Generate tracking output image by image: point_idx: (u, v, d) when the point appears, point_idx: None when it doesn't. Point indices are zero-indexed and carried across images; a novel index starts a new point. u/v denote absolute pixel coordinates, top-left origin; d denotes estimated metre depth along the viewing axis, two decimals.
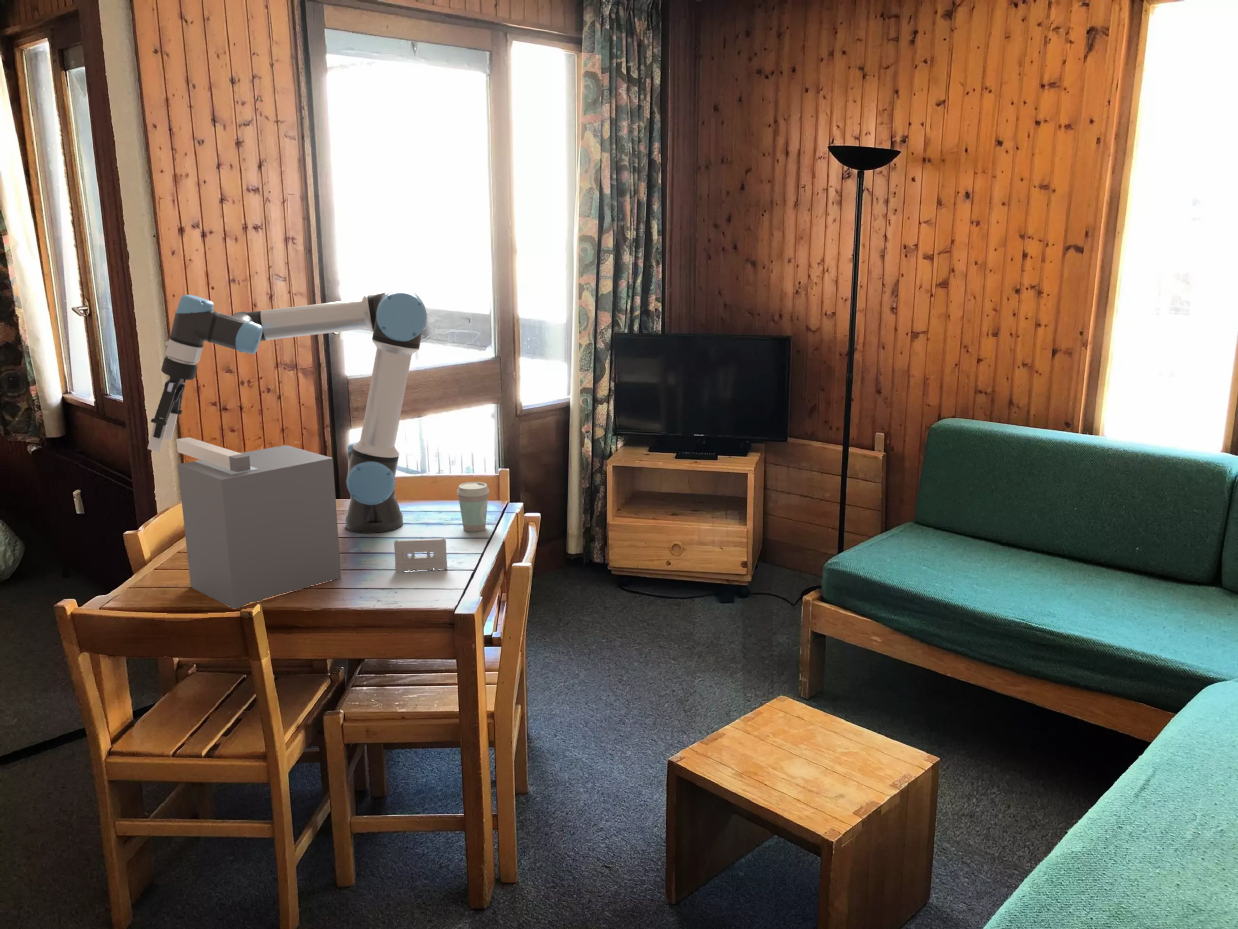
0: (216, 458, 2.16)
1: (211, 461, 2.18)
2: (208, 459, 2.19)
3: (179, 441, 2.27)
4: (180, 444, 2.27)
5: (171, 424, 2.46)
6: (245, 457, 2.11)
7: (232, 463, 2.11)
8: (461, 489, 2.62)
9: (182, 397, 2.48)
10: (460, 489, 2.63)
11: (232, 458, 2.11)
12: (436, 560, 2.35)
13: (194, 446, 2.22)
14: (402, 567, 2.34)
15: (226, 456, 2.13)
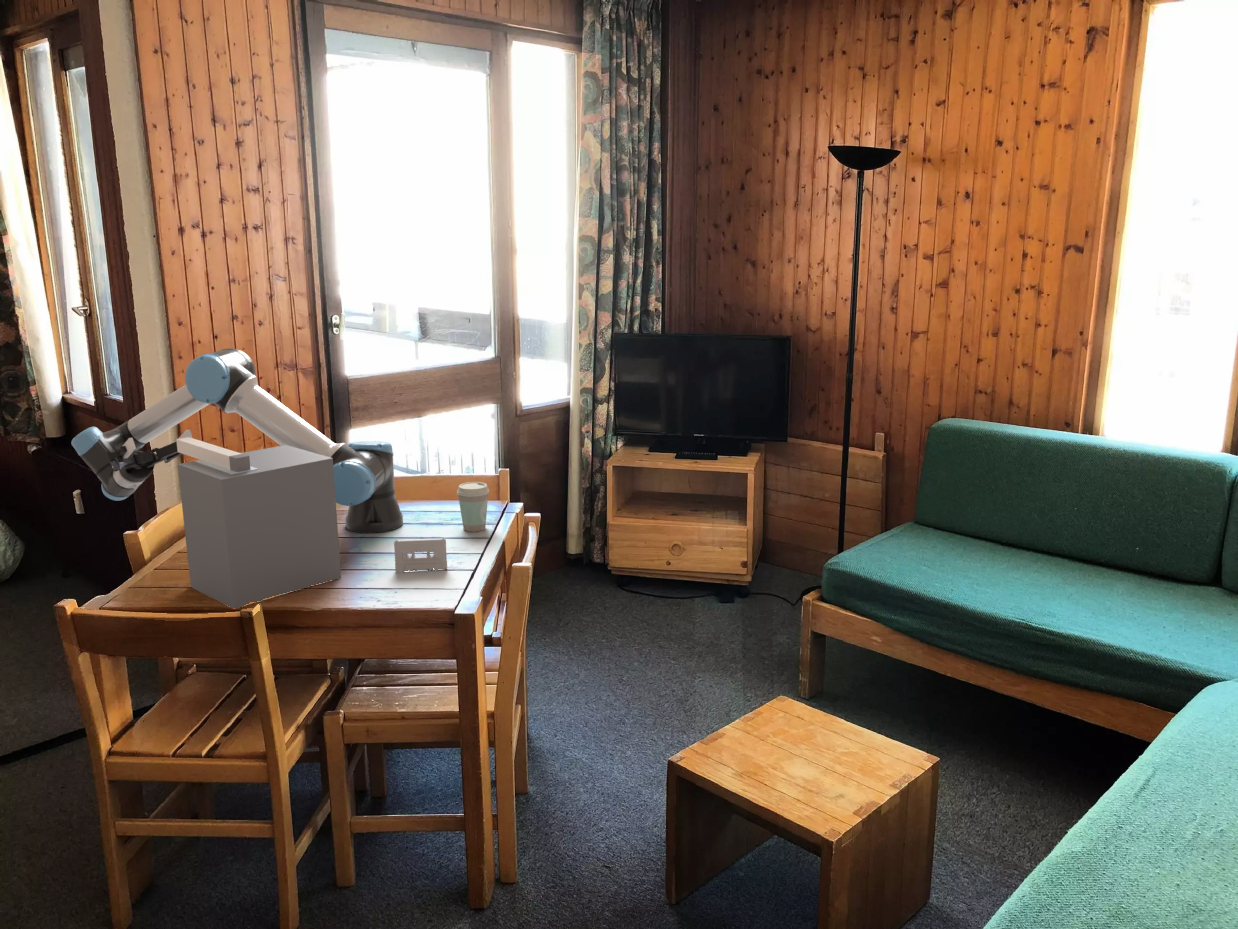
0: (216, 458, 2.16)
1: (211, 461, 2.18)
2: (208, 459, 2.19)
3: (179, 441, 2.27)
4: (180, 444, 2.27)
5: None
6: (245, 457, 2.11)
7: (232, 463, 2.11)
8: (461, 489, 2.62)
9: None
10: (460, 489, 2.63)
11: (232, 458, 2.11)
12: (436, 560, 2.35)
13: (194, 446, 2.22)
14: (402, 567, 2.34)
15: (226, 456, 2.13)
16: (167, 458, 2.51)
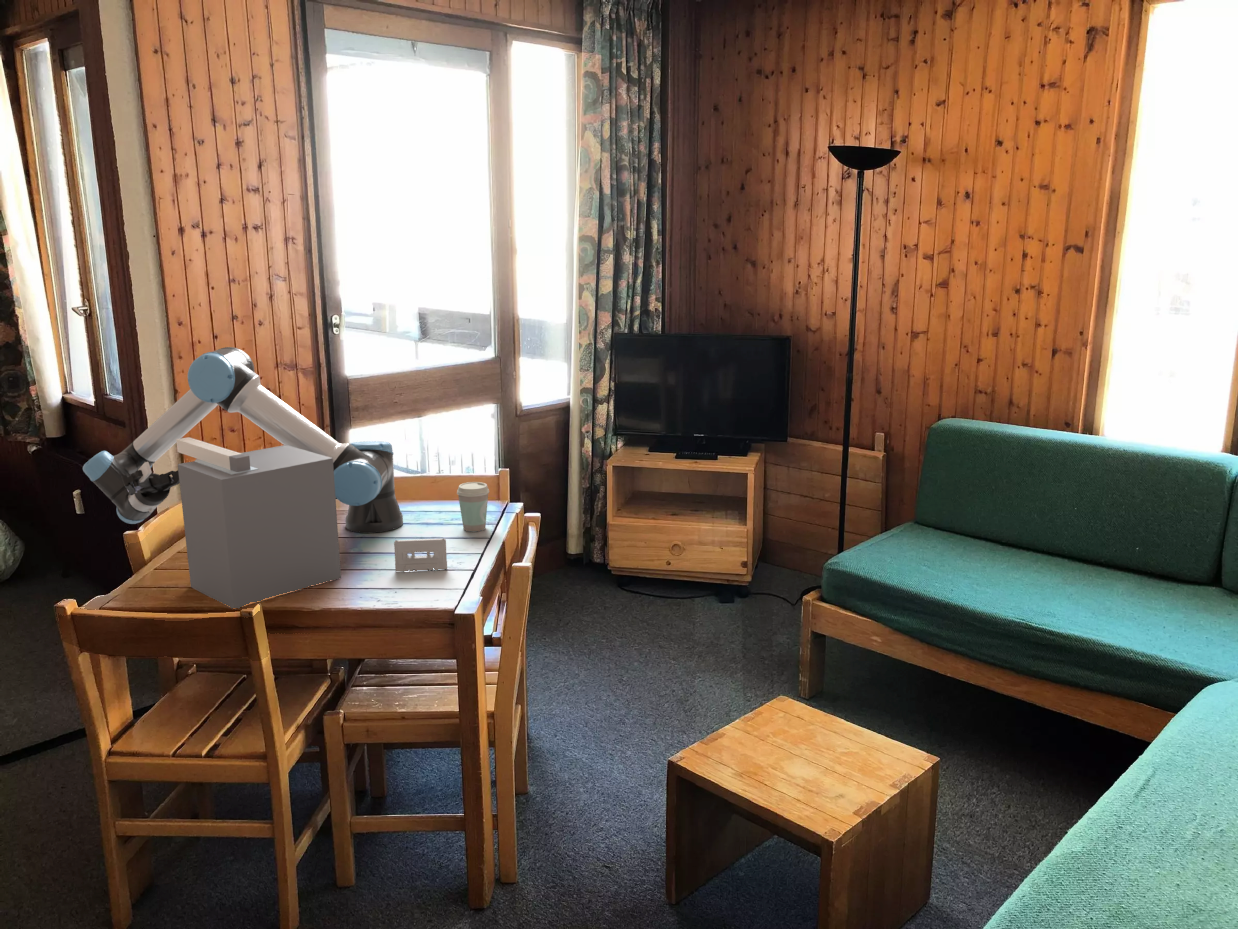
0: (216, 458, 2.16)
1: (211, 461, 2.18)
2: (208, 459, 2.19)
3: (179, 441, 2.27)
4: (180, 444, 2.27)
5: None
6: (245, 457, 2.11)
7: (232, 463, 2.11)
8: (461, 489, 2.62)
9: None
10: (460, 489, 2.63)
11: (232, 458, 2.11)
12: (436, 560, 2.35)
13: (194, 446, 2.22)
14: (402, 567, 2.34)
15: (226, 456, 2.13)
16: None
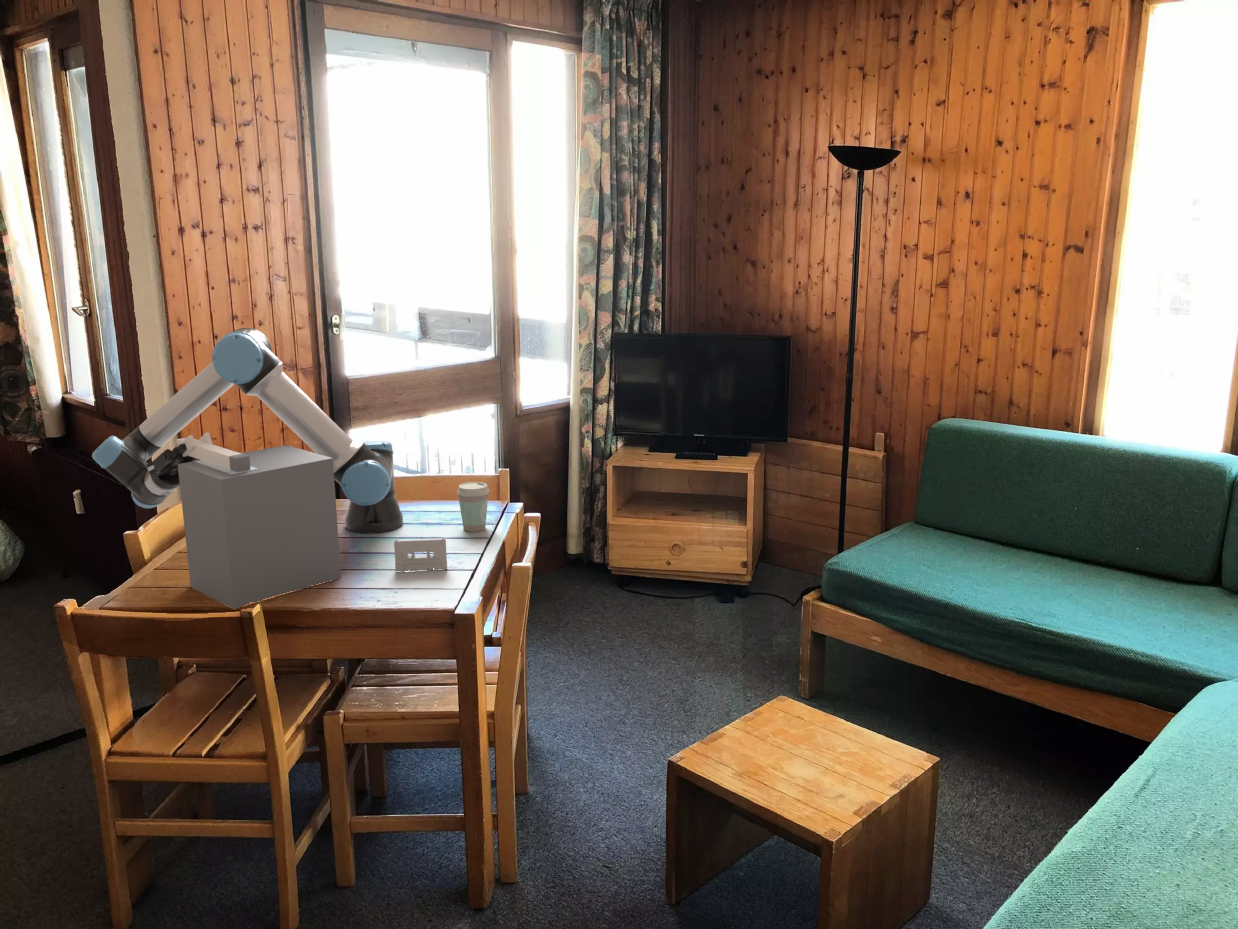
0: (216, 458, 2.16)
1: (211, 461, 2.18)
2: (208, 459, 2.19)
3: (179, 441, 2.27)
4: None
5: None
6: (245, 457, 2.11)
7: (232, 463, 2.11)
8: (461, 489, 2.62)
9: None
10: (460, 489, 2.63)
11: (232, 458, 2.11)
12: (436, 560, 2.35)
13: None
14: (402, 567, 2.34)
15: (226, 456, 2.13)
16: None
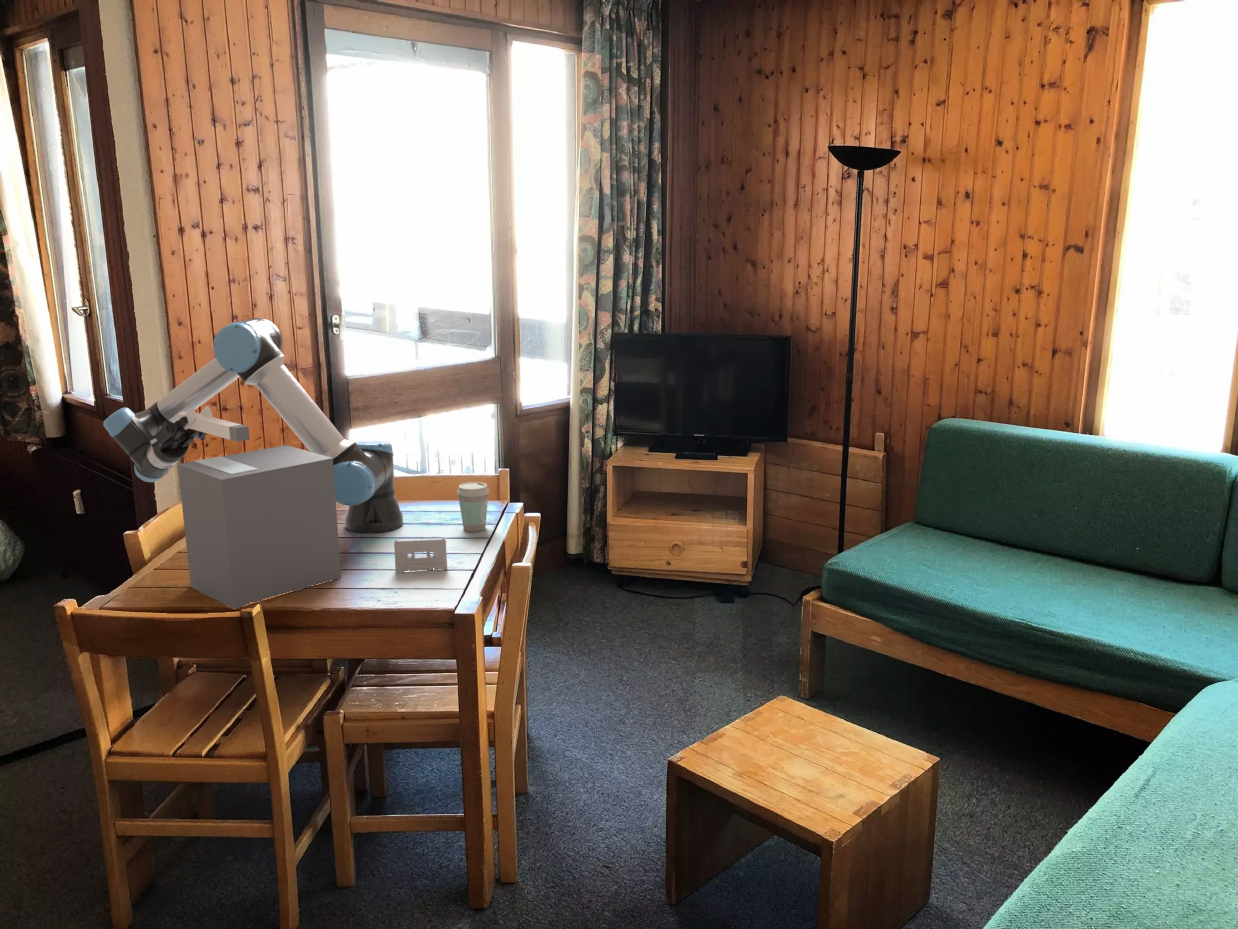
0: (217, 429, 2.26)
1: (211, 432, 2.28)
2: (208, 430, 2.29)
3: (180, 415, 2.37)
4: (181, 417, 2.37)
5: None
6: (244, 427, 2.22)
7: (232, 433, 2.21)
8: (461, 489, 2.62)
9: None
10: (460, 489, 2.63)
11: (232, 428, 2.21)
12: (436, 560, 2.35)
13: None
14: (402, 567, 2.34)
15: (226, 427, 2.23)
16: (199, 436, 2.47)
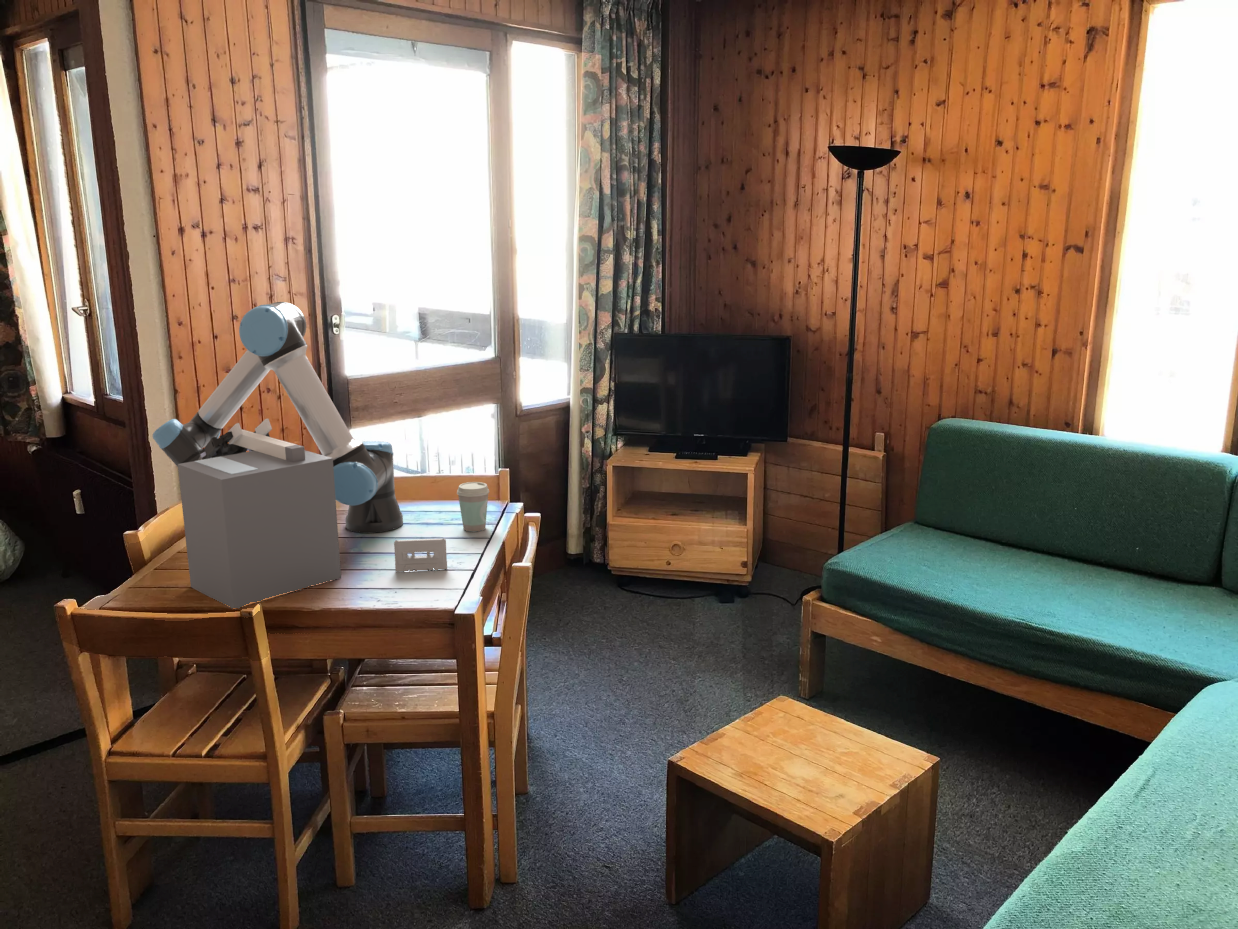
0: (272, 449, 2.25)
1: (266, 452, 2.27)
2: (263, 450, 2.28)
3: None
4: None
5: (260, 427, 2.37)
6: (300, 448, 2.21)
7: (288, 453, 2.21)
8: (461, 489, 2.62)
9: None
10: (460, 489, 2.63)
11: (288, 449, 2.20)
12: (436, 560, 2.35)
13: (249, 438, 2.32)
14: (402, 567, 2.34)
15: (282, 447, 2.22)
16: None
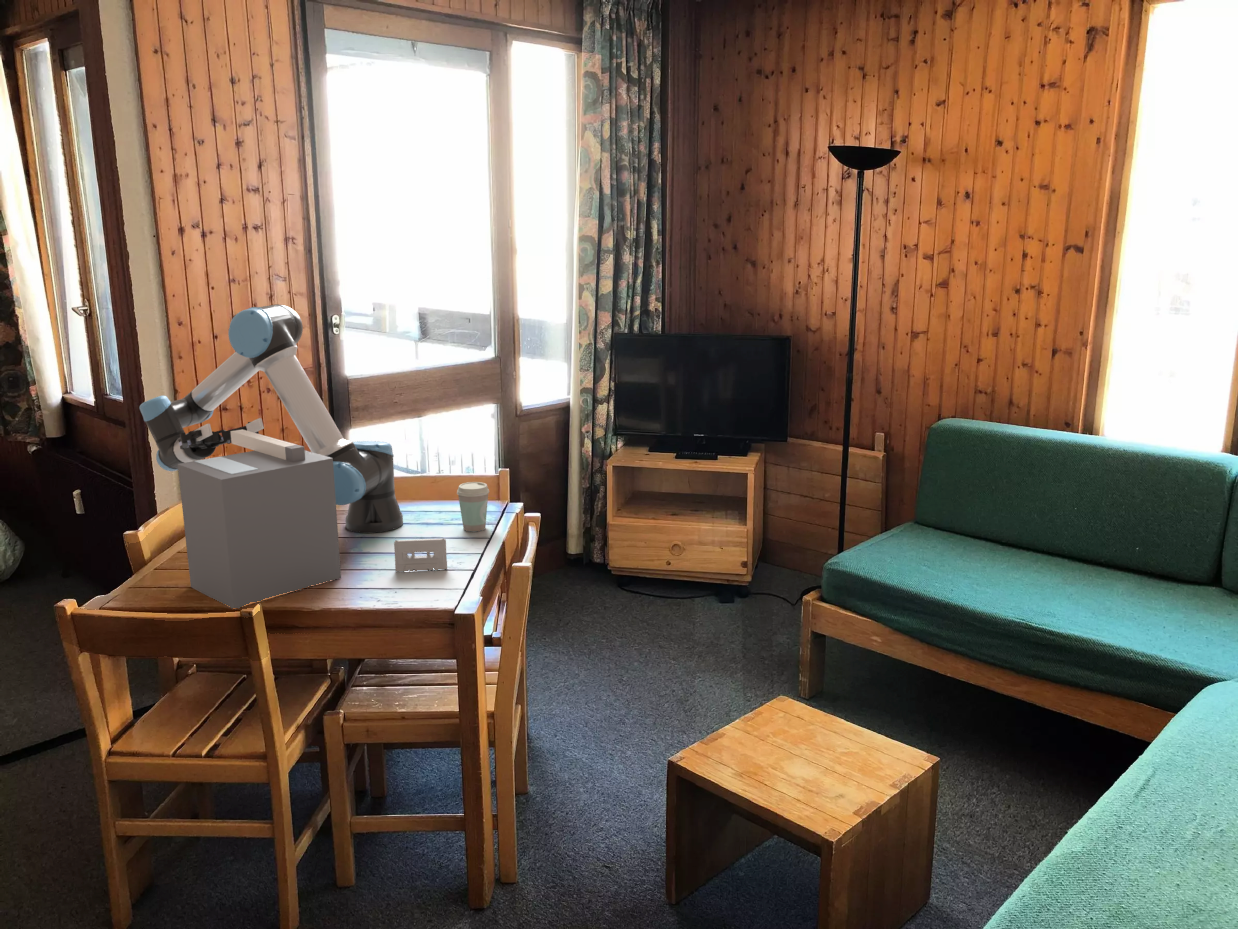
0: (272, 449, 2.25)
1: (266, 452, 2.27)
2: (263, 450, 2.28)
3: (233, 433, 2.37)
4: (234, 436, 2.37)
5: (251, 424, 2.50)
6: (300, 448, 2.21)
7: (288, 453, 2.21)
8: (461, 489, 2.62)
9: None
10: (460, 489, 2.63)
11: (288, 449, 2.20)
12: (436, 560, 2.35)
13: (249, 438, 2.32)
14: (402, 567, 2.34)
15: (282, 447, 2.22)
16: (230, 440, 2.56)
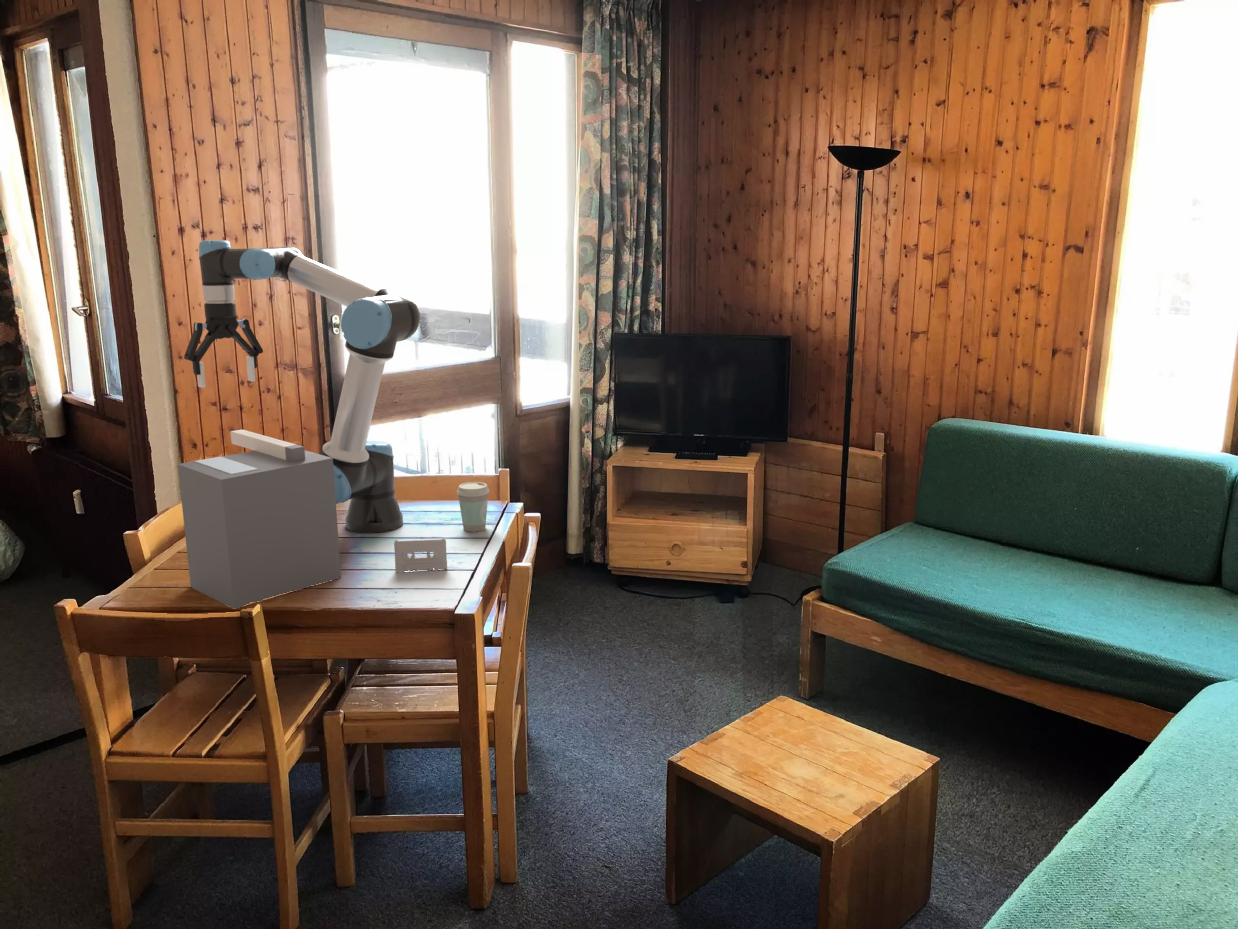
0: (272, 449, 2.25)
1: (266, 452, 2.27)
2: (263, 450, 2.28)
3: (233, 433, 2.37)
4: (234, 436, 2.37)
5: (250, 366, 2.64)
6: (300, 448, 2.21)
7: (288, 453, 2.21)
8: (461, 489, 2.62)
9: None
10: (460, 489, 2.63)
11: (288, 449, 2.20)
12: (436, 560, 2.35)
13: (249, 438, 2.32)
14: (402, 567, 2.34)
15: (282, 447, 2.22)
16: (242, 327, 2.62)
